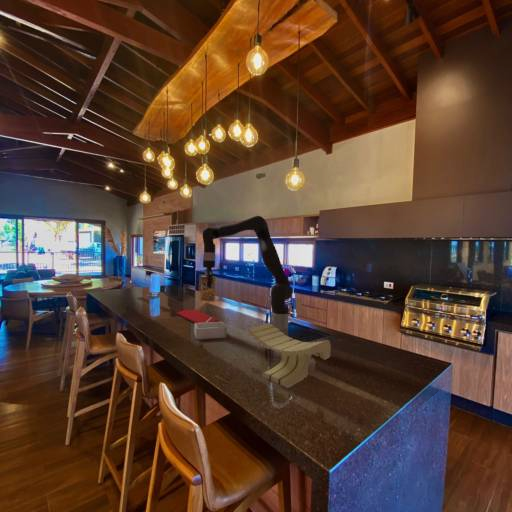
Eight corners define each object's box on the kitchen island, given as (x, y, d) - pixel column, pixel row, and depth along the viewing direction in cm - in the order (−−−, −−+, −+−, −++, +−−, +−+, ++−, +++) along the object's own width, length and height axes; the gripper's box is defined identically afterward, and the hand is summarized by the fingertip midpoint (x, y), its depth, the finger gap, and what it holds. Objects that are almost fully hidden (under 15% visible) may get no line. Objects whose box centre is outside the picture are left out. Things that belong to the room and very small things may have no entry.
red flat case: (195, 312, 217) (195, 308, 217) (223, 325, 185) (223, 320, 185) (176, 315, 207) (176, 310, 207) (202, 328, 175) (202, 323, 175)
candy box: (200, 301, 170) (200, 276, 170) (201, 300, 174) (201, 276, 174) (214, 301, 170) (215, 277, 170) (215, 300, 175) (216, 276, 174)
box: (226, 337, 159) (226, 327, 158) (196, 339, 153) (196, 328, 153) (221, 331, 170) (222, 321, 170) (193, 333, 164) (194, 323, 164)
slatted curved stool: (328, 382, 110) (331, 338, 109) (307, 397, 98) (309, 347, 98) (270, 359, 130) (272, 322, 130) (247, 369, 118) (249, 328, 118)
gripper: (217, 260, 166) (216, 288, 167) (213, 259, 180) (212, 285, 180) (204, 260, 164) (203, 288, 164) (201, 259, 177) (200, 285, 178)
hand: (208, 286), depth 172 cm, fingers closed on candy box, 5 cm apart
